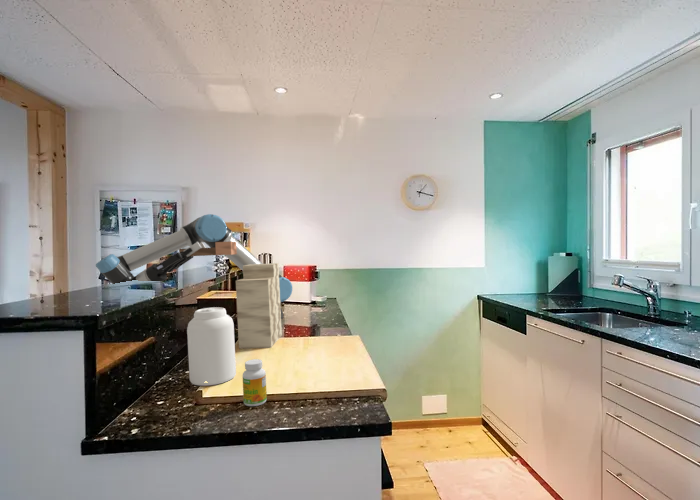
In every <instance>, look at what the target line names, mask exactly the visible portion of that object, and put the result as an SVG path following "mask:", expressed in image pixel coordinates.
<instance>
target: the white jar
mask: <svg viewBox="0 0 700 500" xmlns="http://www.w3.org/2000/svg"><path fill="white" fill-rule="evenodd" d="M186 334H187V357H188V371H189V372H188V373H189V376H188V377H189V381H190V383H191V384H192V385H195V386H203V387H204V386H205V387H207V386H208V387H209V386H215V385H219V384H223V383H226V382H228V381H231V380H233V379H234V378H235V377H236V374H237V367H236V366H237V365H236V364H237V363H236V346H235V345H236V344H235V343H236V342H235V324H234V320H233V318H232V317H231V316H230V315H229V314H227V310H226V308H224V307H222V306H221V307H219V306H218V307H217V306H216V307H215V306H213V307H203V308H200V309H197V310H195V311H194V313H193V317H192V319H190V321H189V322H188V323H187V327H186ZM205 381H207V382H208V383H204V382H205Z"/></svg>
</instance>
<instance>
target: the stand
mask: <svg viewBox="0 0 700 500" xmlns="http://www.w3.org/2000/svg"><path fill="white" fill-rule="evenodd" d="M242 272H243V274H242V275H243V278H240V279H238V280H237V279H236V280H235V290H236V291H235V293H236V313H237V314H236V315H237V332H238V333H237V335H238V336H237V337H238V349H264V348H265V349H266V348H267V349H269V348H272V347H273V346H274V345H275V344H276V343H277V342H278V341H279V339H280V338H281V337H282V336H283V331H282V329H283V328H282V319H281V309H282V307H281V302H280V284H279V274H280V265H279V262H278V263H277V262H276V263H275V262H274V263H263V264H249V265H244V266H243V271H242Z"/></svg>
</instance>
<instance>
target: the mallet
mask: <svg viewBox="0 0 700 500" xmlns="http://www.w3.org/2000/svg"><path fill="white" fill-rule="evenodd" d="M185 249H186V248H181V249H179V250H178V251H179V253H180V252H182V251H183V252H184V250H185ZM233 254H237V248H236V242H215V247H214V248H211V247H206V248H201V249H199V250H198V251H196V252H194V253H193V254H191V255H190V256H193V257H201V256H203V257H204V256H205V257H207V256H225V255H233Z"/></svg>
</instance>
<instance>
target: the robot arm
mask: <svg viewBox="0 0 700 500" xmlns="http://www.w3.org/2000/svg"><path fill="white" fill-rule="evenodd" d="M215 242H236V248H237V254H233V255H224V256H225V257H226V258H227V259H228V260H230V262H231V263H233V264H234V265H235V266H237V267H238V268H239V269H240V270H242V272H243V266H244V265H249V264H264V263H263V261H261V260H259V259H258V258H257V257H256V256H255V255H254V254H253V253H252V252H251V251H250V250H249V249H248V248H247V247H245V246H244V245H243V244H242V243H241V242H240V241H238V240H237V239H236V238H235V237H234V236H233V230H232V229H231V228H229V227H228V226H227V224H226V222H225V220H224V219H223V218H222V217H221V216H219V215H216V214H210V213H208V214H204V215H202V216H200V217H198V218H196V219H194V220H193V221H191V222H190V223H188V224H186V225H183V226H182V227H180V229H179V230H178V231H175V232H173V233H171V234H169V235H166V236H165V237H161V238H159V239H157V240H155V241H152V242H150V243H147V244H145V245H143V246H140V247H138V248H136V249H133V250H131V251H129V252H126V253H123V254H122V255H120V256H116V255H115V254H114V253H110V254H109V255H107V256H105V257H104V258H102V259H101V260H99V261H98V262H96V264H95V267H96V269H98V271H99V272H100V273H101V274H102V275H103V276H104V277H105V278H106V279H107V280H108V281H109V282H110V283H111V284H112V285H113V284H115V283H120V282H126V281H132V280H138V281H163V282H164V281H166V280H167V278H168V274H169V273H172V272H173V271H175V270H178V269H179V268H180V267H181V266H182V265H184V264H186V263H188V262H189V261H190V260H192V259H193V258H194V256H190V255H191V254H193V253H194V252H196V251H198V250H199V249H201V248H207V247H206V246H205V244H206V245H207V246H208V248H214V247H215ZM185 247H187V248H185ZM179 249H185V250H184V252H183V251H182V252H180V253H179V252H176V251H179ZM174 252H176V253H175V254H172V253H174ZM170 254H172V256H170V257H168V258H166V259H165V260H163V261H162V262H160V263H158V264H157V263H154V264H152V265H150V266H148V267H147V268H146V269H144V270H142V271H141V272H139V273H137V274H136V275H133V273H132V271H134V270H136V269H138V268H141V267H143V266H145V265H148V264H150V263H152V262H154V261H157V260H159V259H161V258H163V257H166V256H168V255H170ZM279 284H280V303H283V302H285V301H287V300H289V298H290V297H291V296H292V293H293V284H292V282H291V280H290V279H288V278H287V277H284V276H282V275H281V274H280V273H279ZM283 318H284V312H283V309H282V308H281V320H282V319H283Z"/></svg>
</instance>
